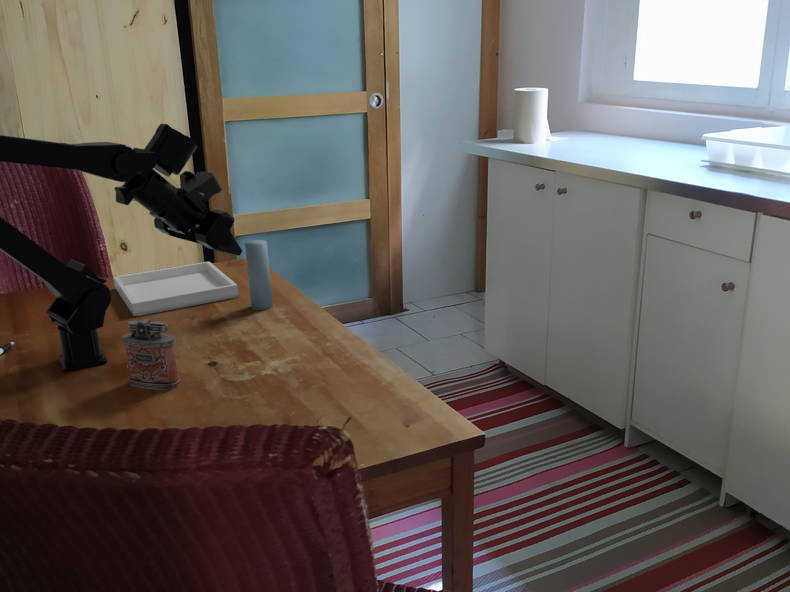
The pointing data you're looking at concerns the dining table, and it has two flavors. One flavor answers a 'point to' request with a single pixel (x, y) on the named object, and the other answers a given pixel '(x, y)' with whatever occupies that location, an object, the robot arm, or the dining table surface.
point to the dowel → (259, 274)
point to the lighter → (151, 356)
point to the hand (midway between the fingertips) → (226, 248)
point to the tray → (174, 288)
